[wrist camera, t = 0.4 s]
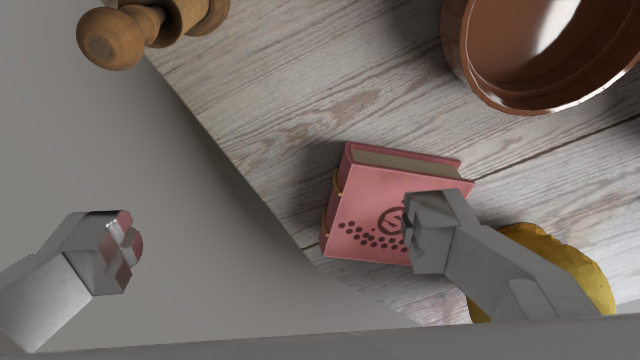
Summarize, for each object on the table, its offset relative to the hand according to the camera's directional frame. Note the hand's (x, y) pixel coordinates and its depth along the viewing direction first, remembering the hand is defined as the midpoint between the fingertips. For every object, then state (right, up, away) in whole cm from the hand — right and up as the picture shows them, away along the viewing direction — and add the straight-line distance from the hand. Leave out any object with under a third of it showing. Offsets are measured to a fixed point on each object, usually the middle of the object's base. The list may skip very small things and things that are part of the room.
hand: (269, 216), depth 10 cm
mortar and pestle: (-10, +18, +21) cm, 30 cm away
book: (+10, -1, +36) cm, 37 cm away
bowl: (+21, +18, +23) cm, 36 cm away
